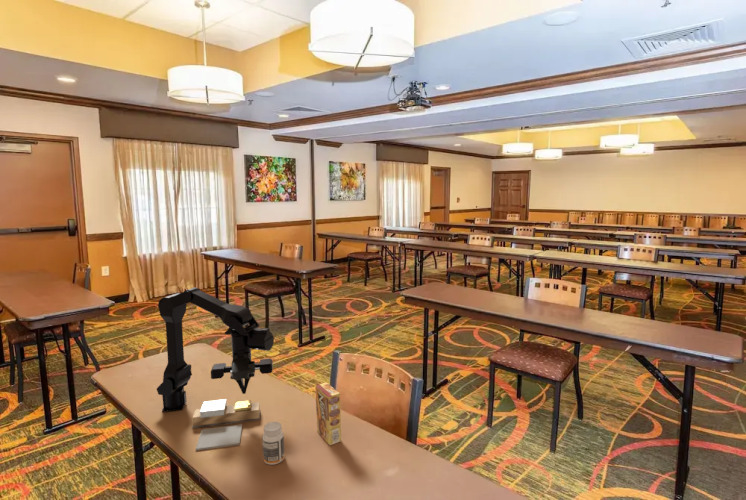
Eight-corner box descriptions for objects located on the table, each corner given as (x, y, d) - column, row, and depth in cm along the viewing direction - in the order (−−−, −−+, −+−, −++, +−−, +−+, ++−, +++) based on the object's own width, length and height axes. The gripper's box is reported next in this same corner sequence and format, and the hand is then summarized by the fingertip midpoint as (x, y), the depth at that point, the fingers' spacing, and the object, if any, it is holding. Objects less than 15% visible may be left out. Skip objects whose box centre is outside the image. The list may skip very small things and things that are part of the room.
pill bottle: (273, 450, 118) (272, 418, 117) (288, 456, 115) (287, 423, 114) (259, 461, 113) (257, 428, 112) (274, 468, 110) (272, 434, 109)
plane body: (192, 428, 129) (191, 418, 129) (195, 419, 135) (195, 409, 134) (259, 420, 134) (259, 410, 133) (260, 411, 139) (259, 401, 139)
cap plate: (200, 417, 129) (200, 411, 129) (204, 407, 135) (203, 401, 135) (224, 415, 131) (223, 409, 130) (226, 404, 137) (226, 399, 137)
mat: (195, 450, 118) (195, 448, 118) (202, 431, 128) (201, 429, 128) (239, 444, 121) (239, 442, 121) (242, 426, 131) (242, 424, 130)
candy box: (342, 441, 122) (341, 393, 120) (329, 446, 120) (328, 397, 118) (328, 427, 129) (327, 381, 127) (316, 432, 127) (314, 385, 125)
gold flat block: (250, 409, 133) (234, 411, 132) (251, 402, 137) (236, 404, 136) (250, 406, 133) (234, 408, 132) (251, 399, 137) (235, 401, 136)
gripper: (206, 360, 122) (209, 409, 124) (270, 354, 126) (273, 401, 128) (212, 346, 133) (215, 392, 135) (271, 341, 137) (273, 385, 139)
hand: (244, 393), depth 134 cm, fingers closed
